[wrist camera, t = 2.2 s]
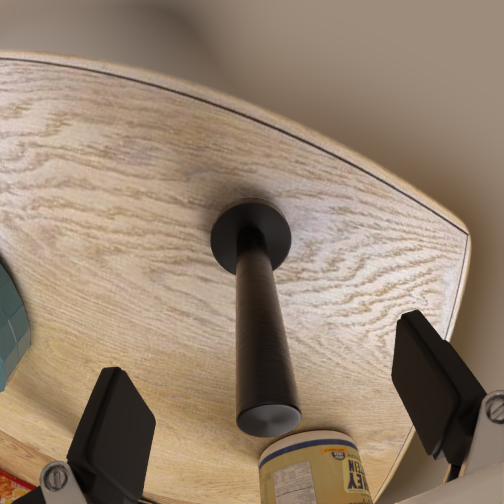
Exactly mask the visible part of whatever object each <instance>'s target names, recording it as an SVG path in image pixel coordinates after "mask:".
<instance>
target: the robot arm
mask: <svg viewBox="0 0 504 504" xmlns="http://www.w3.org/2000/svg"><path fill="white" fill-rule="evenodd" d="M391 376H392V381H393V384H394V386H395V388H396V390H397V392H398V394H399V396H400V398H401V400H402V402H403V404H404V406H405V408H406V410H407V412H408V414H409V416H410V418H411V420H412V423H413V425H414V427H415V429H416V431H417V433H418V435H419V437H420V440H421V442H422V444H423V446H424V448H425V451H426V453H427V454H428V455H433V457H434V459H435V461H436V460H438V459H440V458H442V457H446V459H447V461H448V463H449V467H448V469H447V472H446V475H445V478H444V480H443V483H442V485H441V486H438V487H436V488H434V489H431V490H429V491H427V492H424V493H422V494H419V495H417V496H414V497H411V498H409V499H406V500H403V501H400V502H398V503H395V504H504V390H496V391H493V392H491V393H489V394H488V395H487V393H486V392H485V390H484V389H483V387H482V386H481V385H480V383H479V382H478V380H477V379H476V378H475V376H474V375H473V374H472V372H471V371H470V370H469V368H468V367H467V365H466V364H465V363H464V361H463V360H462V359H461V357H460V356H459V355H458V353H457V352H456V351H455V350H454V348H453V347H452V346H451V344H450V343H449V342H448V341H446V340H443V339H442V338H441V337H440V335H439V334H438V333H437V332H436V330H435V329H434V328H433V327H432V325H431V324H430V323H429V322H428V320H427V319H426V318H425V317H424V315H423V314H422V313H421V312H420V311H419V310H414V311H411V312H407V313H404V314H402V316H401V319H399V320H398V321H397V326H396V338H395V348H394V357H393V366H392V374H391ZM155 425H156V421H155V417H154V415H153V414H152V412H151V411H150V409H149V408H148V406H147V405H146V403H145V402H144V400H143V399H142V397H141V396H140V394H139V392H138V391H137V389H136V388H135V386H134V385H133V383H132V381H131V380H130V378H129V376H128V375H127V373H126V372H125V371H124V370H121V368H119V367H107V368H103V369H102V371H101V373H100V375H99V378H98V380H97V382H96V384H95V387H94V389H93V391H92V394H91V396H90V398H89V401H88V403H87V406H86V408H85V410H84V413H83V415H82V418H81V420H80V423H79V425H78V428H77V430H76V433H75V435H74V438H73V441H72V443H71V446H70V449H69V451H68V454H67V457H66V458H67V459H68V461H67V463H65V462H63V461H53V462H50V463H49V464H48V465H46V466H45V467H44V469H43V470H42V472H41V474H40V486H38V487H37V488H35V489H33V490H31V491H30V492H28V493H26V494H25V495H23V496H21V497H19V498H17V499H16V500H14V501H13V502H12V503H11V504H137V503H138V500H140V499H141V498H142V493H143V488H144V482H145V476H146V471H147V466H148V460H149V455H150V450H151V445H152V440H153V435H154V430H155Z"/></svg>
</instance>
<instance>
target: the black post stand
mask: <svg viewBox="0 0 504 504" xmlns="http://www.w3.org/2000/svg"><path fill="white" fill-rule="evenodd" d="M210 243H211V249H212V252H213V255H214V257H215V259H216V260H217V262H218V263H219V264H220V265H221V266H222V267H223V268H224V269H225V270H227V271H229V272H230V273H232V274H235V275H236V423H237V425H238V427H239V429H240V430H241V431H243V432H244V433H246V434H248V435H251V436H255V437H264V438H267V437H276V436H280V435H283V434H286V433H288V432H290V431H292V430H293V429H295V428H296V427H297V426H298V425H299V423H300V421H301V419H302V413H301V408H300V402H299V397H298V392H297V387H296V382H295V377H294V372H293V367H292V362H291V357H290V353H289V348H288V343H287V338H286V333H285V328H284V323H283V319H282V314H281V309H280V304H279V299H278V295H277V290H276V285H275V281H274V276H273V271H274V270H275V269H277V268H278V267H279V266H280V265H281V264H282V263H283V262H284V260H285V259H286V257H287V255H288V253H289V250H290V247H291V232H290V228H289V225H288V223H287V221H286V219H285V217H284V215H283V214H282V212H281V211H280V210H279V209H278V208H277V207H276V206H274V205H273V204H272V203H270V202H268V201H265V200H263V199H258V198H243V199H239V200H236V201H234V202H232V203H230V204H228V205H227V206H226V207H224V208H223V209H222V210H221V211H220V213H219V214H218V215H217V217H216V219H215V221H214V223H213V227H212V232H211V238H210Z"/></svg>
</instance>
